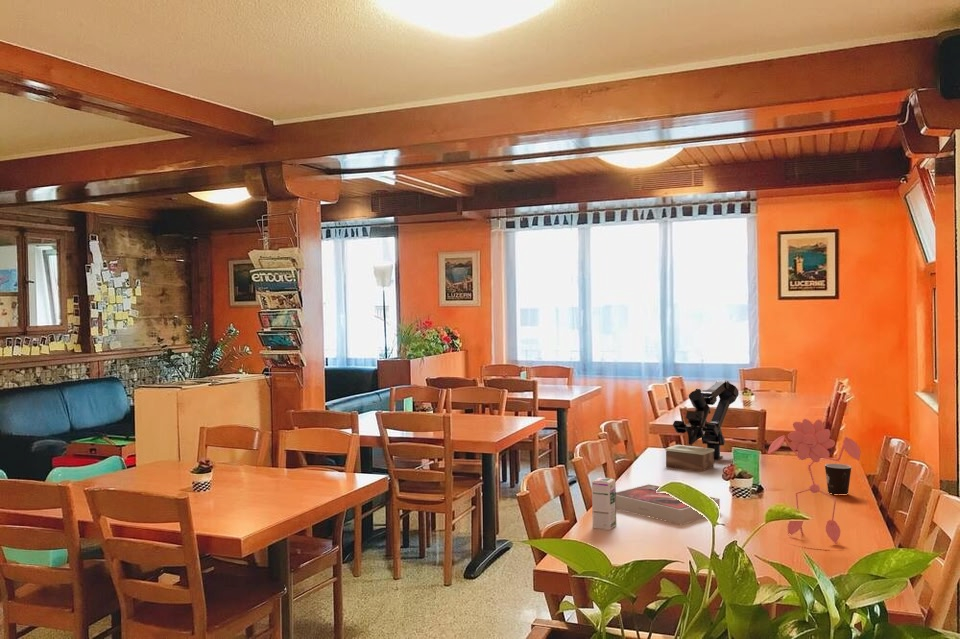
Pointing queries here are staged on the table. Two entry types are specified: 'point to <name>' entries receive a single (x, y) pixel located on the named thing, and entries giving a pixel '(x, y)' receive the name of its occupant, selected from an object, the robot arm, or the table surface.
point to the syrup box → (604, 503)
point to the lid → (689, 449)
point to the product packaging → (656, 504)
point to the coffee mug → (838, 478)
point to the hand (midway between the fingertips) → (689, 444)
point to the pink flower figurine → (814, 460)
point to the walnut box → (689, 460)
